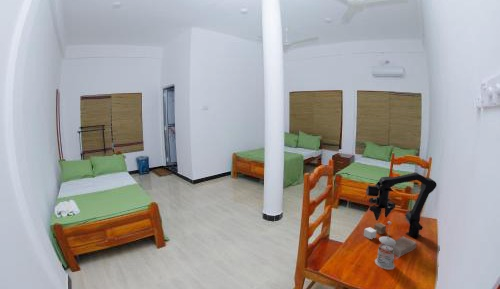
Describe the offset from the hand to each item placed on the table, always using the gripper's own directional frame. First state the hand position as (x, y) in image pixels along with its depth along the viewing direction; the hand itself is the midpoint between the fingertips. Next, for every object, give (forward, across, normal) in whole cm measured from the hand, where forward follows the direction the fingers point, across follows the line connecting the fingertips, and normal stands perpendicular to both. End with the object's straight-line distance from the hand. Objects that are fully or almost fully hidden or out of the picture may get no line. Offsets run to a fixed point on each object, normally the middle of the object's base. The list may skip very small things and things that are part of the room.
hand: (381, 218), depth 173 cm
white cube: (+10, +11, +1) cm, 15 cm away
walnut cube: (+10, 0, 0) cm, 10 cm away
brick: (+10, +6, +19) cm, 22 cm away
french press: (+10, +27, +24) cm, 37 cm away
